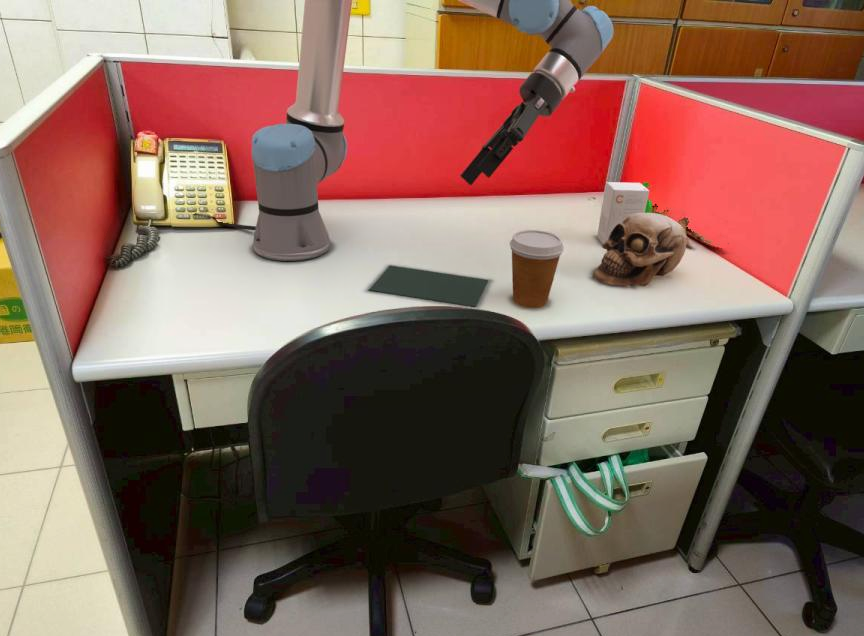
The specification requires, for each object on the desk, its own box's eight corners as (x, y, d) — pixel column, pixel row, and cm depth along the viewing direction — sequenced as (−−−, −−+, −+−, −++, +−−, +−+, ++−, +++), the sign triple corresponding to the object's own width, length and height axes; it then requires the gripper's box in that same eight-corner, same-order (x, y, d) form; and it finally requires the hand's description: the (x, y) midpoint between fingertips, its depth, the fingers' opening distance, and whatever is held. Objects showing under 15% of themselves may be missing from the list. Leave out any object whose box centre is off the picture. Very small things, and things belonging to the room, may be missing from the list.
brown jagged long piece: (656, 230, 154) (700, 256, 140) (660, 211, 152) (705, 236, 137) (689, 227, 157) (735, 252, 142) (693, 208, 154) (740, 232, 140)
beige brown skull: (588, 279, 124) (604, 213, 118) (606, 260, 139) (621, 199, 133) (667, 300, 119) (688, 232, 114) (677, 277, 134) (696, 216, 128)
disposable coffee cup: (553, 315, 110) (563, 251, 104) (500, 308, 112) (506, 244, 105) (557, 293, 118) (566, 232, 112) (507, 286, 120) (514, 226, 113)
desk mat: (368, 290, 115) (368, 289, 115) (390, 266, 125) (390, 265, 125) (475, 307, 112) (475, 306, 111) (488, 280, 122) (488, 279, 121)
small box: (629, 237, 148) (640, 182, 141) (638, 247, 142) (650, 190, 135) (595, 236, 147) (605, 181, 140) (603, 246, 141) (614, 189, 135)
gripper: (589, 84, 103) (508, 184, 103) (539, 115, 127) (473, 196, 127) (557, 50, 101) (474, 152, 101) (512, 88, 125) (445, 170, 125)
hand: (473, 176), depth 114 cm, fingers open, 13 cm apart
